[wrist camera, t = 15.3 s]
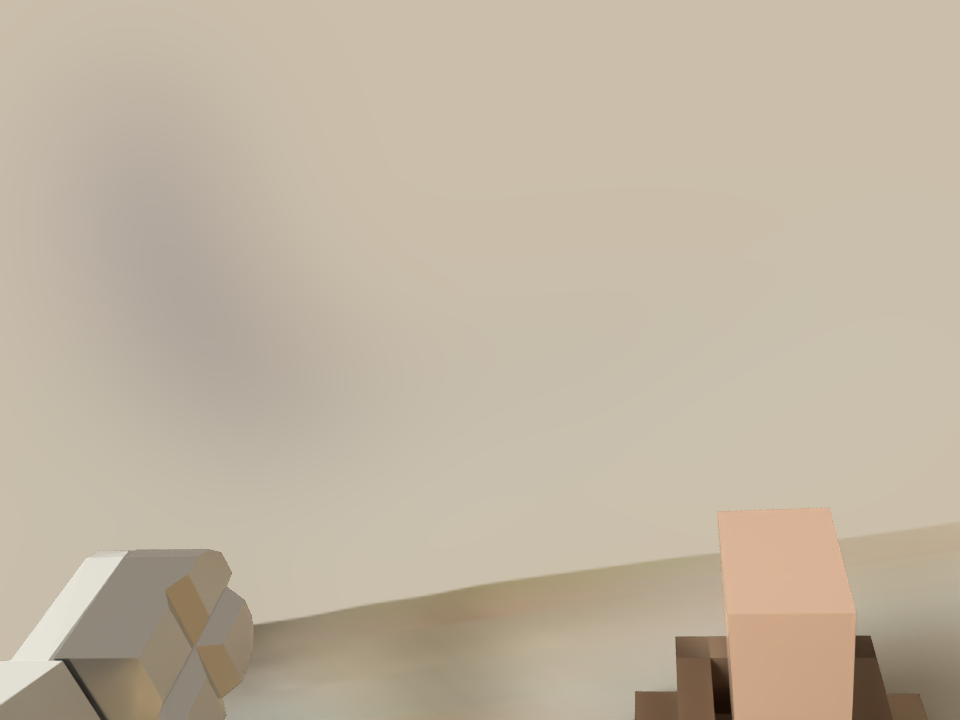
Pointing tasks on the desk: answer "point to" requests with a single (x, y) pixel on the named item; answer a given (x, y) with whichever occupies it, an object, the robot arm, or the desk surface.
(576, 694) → the desk surface
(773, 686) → the clay strip
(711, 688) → the slotted wooden stand
